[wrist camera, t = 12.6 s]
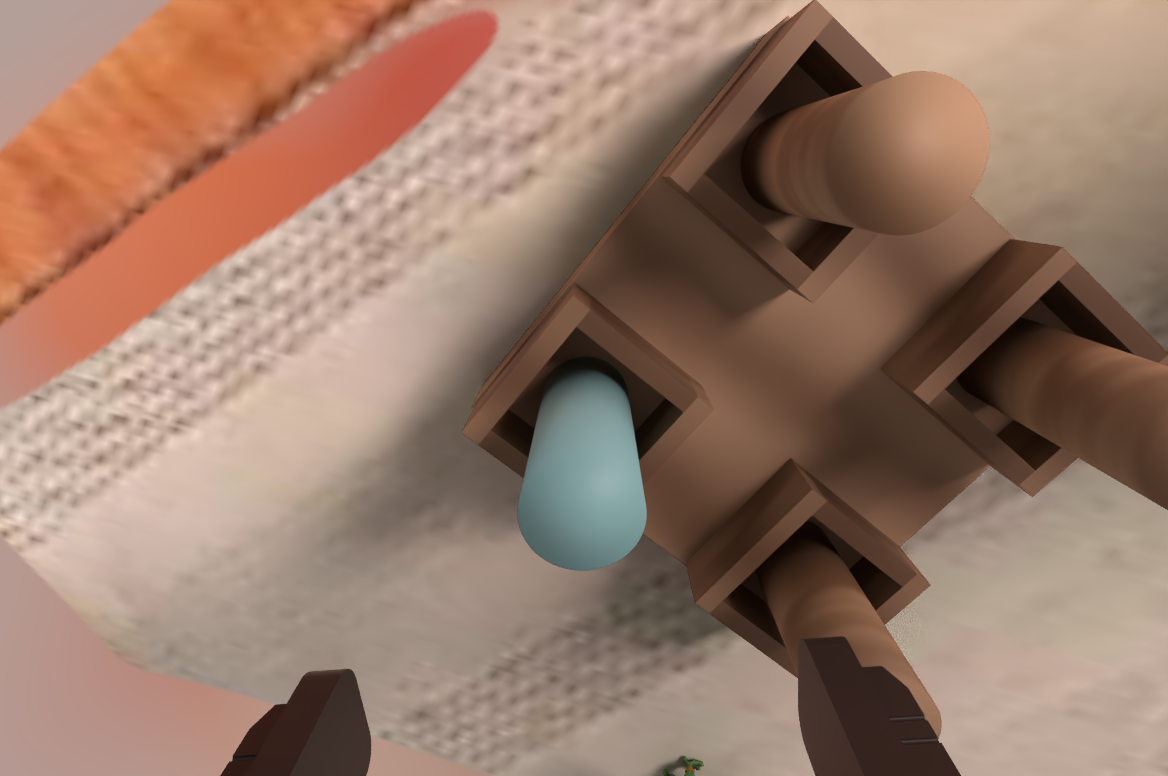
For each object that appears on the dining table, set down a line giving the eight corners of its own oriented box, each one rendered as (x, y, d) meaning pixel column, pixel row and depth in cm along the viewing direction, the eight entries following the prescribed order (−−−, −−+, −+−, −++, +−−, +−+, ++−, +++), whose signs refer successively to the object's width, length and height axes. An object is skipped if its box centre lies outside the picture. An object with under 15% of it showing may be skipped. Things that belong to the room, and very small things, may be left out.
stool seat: (766, 33, 26) (921, -94, 14) (1072, 329, 30) (1414, 441, 17) (482, 385, 31) (408, 525, 19) (775, 604, 34) (876, 847, 22)
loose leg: (538, 360, 27) (509, 461, 18) (624, 352, 27) (641, 449, 18) (548, 440, 28) (525, 575, 19) (631, 433, 28) (650, 565, 19)
